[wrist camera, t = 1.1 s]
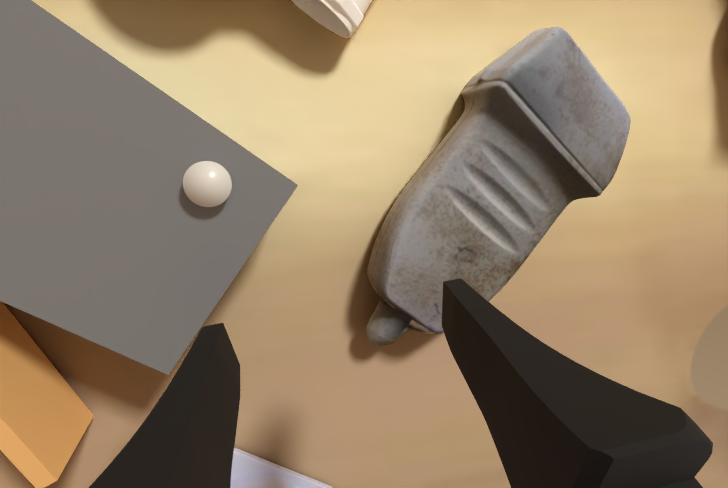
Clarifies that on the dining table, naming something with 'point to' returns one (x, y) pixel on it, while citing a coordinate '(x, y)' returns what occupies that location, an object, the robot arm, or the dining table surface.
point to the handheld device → (496, 181)
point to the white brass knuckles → (336, 13)
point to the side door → (35, 407)
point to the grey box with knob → (116, 195)
